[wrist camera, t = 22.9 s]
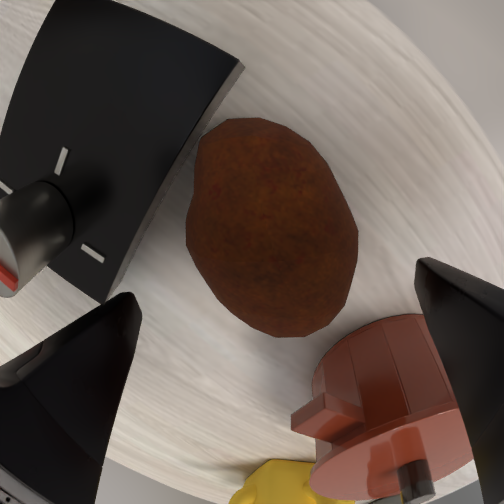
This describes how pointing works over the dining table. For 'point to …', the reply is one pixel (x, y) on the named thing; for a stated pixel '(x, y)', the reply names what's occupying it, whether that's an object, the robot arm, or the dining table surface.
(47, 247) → the hob knob
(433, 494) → the pot lid
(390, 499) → the water bottle
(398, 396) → the pot
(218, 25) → the dining table surface
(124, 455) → the dining table surface
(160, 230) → the dining table surface
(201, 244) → the potato
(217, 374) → the dining table surface
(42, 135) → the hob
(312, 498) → the teapot
